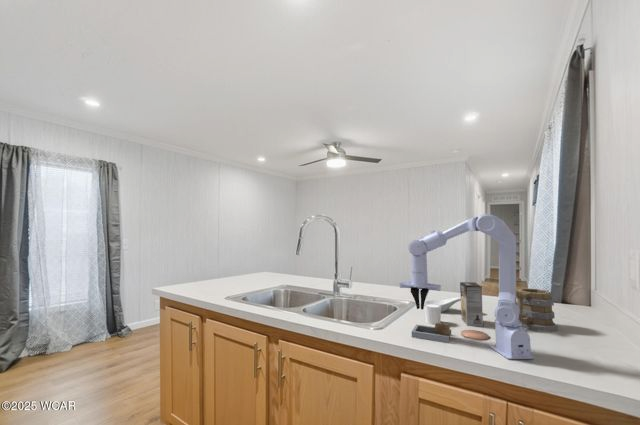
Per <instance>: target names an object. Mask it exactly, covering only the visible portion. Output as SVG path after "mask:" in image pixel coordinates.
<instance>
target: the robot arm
mask: <svg viewBox="0 0 640 425" xmlns="http://www.w3.org/2000/svg"><path fill="white" fill-rule="evenodd" d="M467 232H481V233H483V234H484V235H487V236H490V237H491V238H492V239H493V240H494V241H495V242H496V243H498V297H497V299H498V300H497V306H496V308H495V309H494V317H495V319H494V328H495V330H494V331H495V345H490V346H489V347H490V348H491V349H492V350H493V351H495V352H496V353H498V354H500V355H502V356H503V357H504V358H506V359H507V360H534V359H535V357H534V356H533V355H532V351H531V350H532V348H531V337H530V335H529V333H528V332H527V331H526V330H525V329H524V327H522V323H521V322H520V321H519V314H520V308H519V306H518V304H517V296H516V291H517V237H516V236H515V234H514V233H513V232H512V230H511V229H510V228H509V227H508V226H507V224H506V223H505V221H504V220H503V219H501V218H500V217H498V216H496V215H493V214H491V213H484V214H480V215H479V216H475V217H472V218H469V219H466V220H464V221H463V222H460V223H458V224H456V225H453V226H452V227H449V229H448V228H447V229H446V230H444V231H440V230H432V231H430V234H427V235H425V236H419V239H413V240H412V241H411V242H410V243H409V244H408V251H409V253H410V268H411V269H410V271H411V275H410V276H411V277H410V278H411V281H409V282H407V281H400V282H399V288H400V289H403V288H404V289H410V294H411V295H412V297H413V300H414V303H415V305H416V309H417V310H419V309H420V310H425V309H424V305H425V302H426V299H427V296H428V294H429V292H430V291H436V292H441V290H442V289H441V284H434V283H429V282H428V261H427V253H428V252H431V251H434V250H437V249H438V248H440V247H441V248H442V247H443V246H446V244H447V241H448V240H450V239H453V238H454V237H457V236H461V235H463V234H465V233H467Z"/></svg>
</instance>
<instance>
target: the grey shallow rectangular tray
mask: <svg viewBox="0 0 640 425" xmlns="http://www.w3.org/2000/svg"><path fill="white" fill-rule="evenodd" d="M451 336H452V329H451V328H450V337H451ZM414 337H416V338H415V339H420V340H428V341H433V342H440V343H441V342H442V343H446V344H450V339H449V336H445V335H438V334H435V326H431V325H430V326H429V325H424V324H415V326H414V327H413V329H412V330H411V338H414Z"/></svg>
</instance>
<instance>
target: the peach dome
mask: <svg viewBox="0 0 640 425" xmlns="http://www.w3.org/2000/svg"><path fill="white" fill-rule="evenodd" d="M460 335H461V336H463V337H464V338H467V339H469V340H470V339H471V340H476V341H486V340H488V339H489V338H490V337H489V336H490V335H489V334H488V333H487V332H484V331H480V330H476V329H462V330H461V331H460Z"/></svg>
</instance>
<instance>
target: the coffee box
mask: <svg viewBox="0 0 640 425" xmlns="http://www.w3.org/2000/svg"><path fill="white" fill-rule="evenodd" d="M459 288H460V291H459V292H460V297H461V301H460V311H461V312H460V313H461V314H460V315H461V321H463V322H464V323H465V324H466V326H470V327H484V320H483V319H484V315H483V314H484V313H483V291H482V290H483V287H482V286H481V285H480V284H479V283H477V282H475V281H474V282H472V281H471V282H469V281H467V282H466V281H464V282H463V281H460V282H459Z"/></svg>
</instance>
